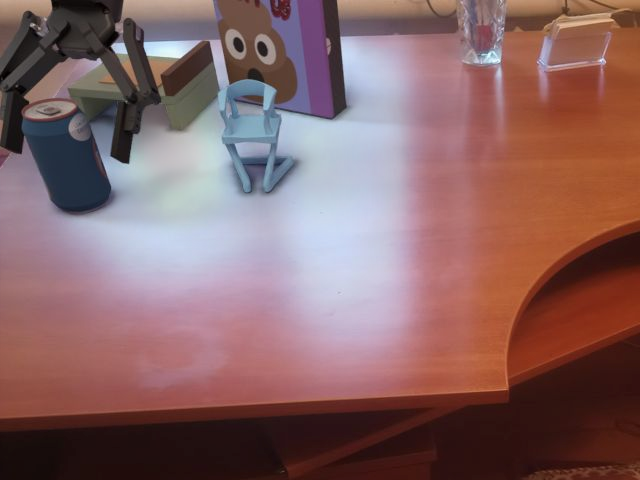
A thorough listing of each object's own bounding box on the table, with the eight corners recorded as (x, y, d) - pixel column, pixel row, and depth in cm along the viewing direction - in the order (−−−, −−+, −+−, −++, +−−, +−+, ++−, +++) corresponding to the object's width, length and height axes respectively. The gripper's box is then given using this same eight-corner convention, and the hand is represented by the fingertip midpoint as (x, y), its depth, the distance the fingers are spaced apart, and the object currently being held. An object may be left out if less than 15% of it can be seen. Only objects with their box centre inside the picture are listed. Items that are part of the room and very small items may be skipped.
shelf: (78, 121, 106) (59, 66, 101) (125, 84, 117) (110, 32, 111) (182, 130, 105) (168, 75, 99) (220, 92, 115) (209, 40, 110)
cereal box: (232, 100, 113) (198, -75, 97) (249, 88, 116) (219, -82, 100) (331, 119, 109) (312, -60, 93) (346, 107, 112) (330, -68, 96)
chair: (226, 193, 92) (205, 101, 84) (236, 162, 98) (218, 73, 90) (287, 192, 92) (273, 100, 84) (294, 161, 98) (281, 73, 90)
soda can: (126, 197, 90) (96, 104, 82) (79, 222, 86) (42, 126, 78) (89, 182, 93) (55, 90, 85) (41, 206, 88) (1, 111, 80)
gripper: (205, 3, 88) (181, 174, 87) (14, -9, 91) (-11, 156, 90) (175, -33, 81) (149, 153, 80) (-32, -46, 83) (-60, 135, 82)
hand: (64, 155), depth 85 cm, fingers open, 13 cm apart
